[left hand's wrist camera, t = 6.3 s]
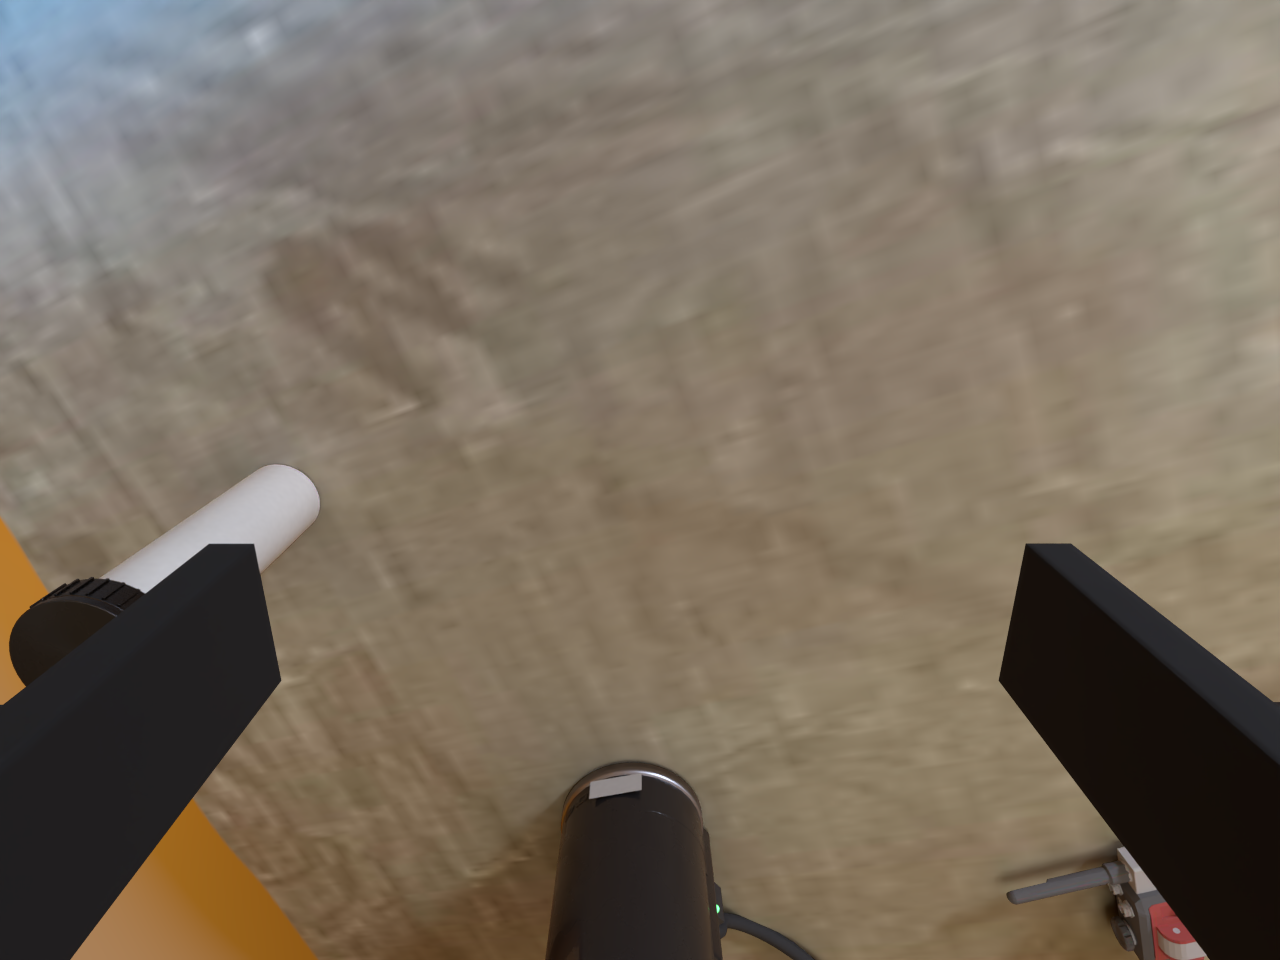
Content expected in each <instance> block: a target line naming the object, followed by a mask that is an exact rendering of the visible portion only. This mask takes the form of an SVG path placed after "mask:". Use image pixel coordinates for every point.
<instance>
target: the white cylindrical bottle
mask: <svg viewBox="0 0 1280 960" xmlns="http://www.w3.org/2000/svg"><path fill="white" fill-rule="evenodd" d="M319 509H320V499H319V495H318V492H317V490H316V488H315V486H314V484H313V483H312V482H311V480H310V479H309V478H308V477H307V476H306V475H304V474H303V473H302V472H300V471H299V470H297V469H295V468H292V467H290V466H286V465H279V464H273V465H267V466H264V467H261V468H259V469H258V470H256V471H255V472H253V473H252V474H250V475H249V476H247V477H246V478H244V479H243V480H241V481H240V482H239V483H237V484H236V485H234V486H233V487H231V488H230V489H228V490H227V491H226V492H224V493H223V494H221V495H220V496H218V497H217V498H215V499H214V500H212V501H211V502H210V503H208V504H207V505H205V506H204V507H202V508H201V509H199V510H198V511H196V512H195V513H194V514H192V515H191V516H189V517H188V518H186V519H185V520H183V521H182V522H180V523H179V524H178V525H176V526H175V527H173V528H172V529H170V530H169V531H167V532H166V533H164V534H163V535H162V536H160V537H159V538H157V539H156V540H154V541H153V542H151V543H150V544H148V545H147V546H146V547H144V548H143V549H141V550H140V551H138V552H137V553H135V554H134V555H132V556H131V557H130V558H128V559H127V560H125V561H124V562H122V563H121V564H119V565H118V566H116V567H115V568H114V569H112V570H111V571H109V572H108V573H106V574H105V575H103V576H102V577H100V578H99V579H106V578H109V579H110V580H114V581H118V582H121V583H122V582H124V583H125V584H127V585H130V586H132V587H134V588H137V589H140V591H142V592H144V593H147V592H148V591H149V590H151V589H152V588H153V587H154V586H156V585H157V584H158V583H159V582H161V581H162V580H163V579H165V578H166V577H167V576H168V575H170V574H171V573H172V572H174V571H175V570H176V569H177V568H179V567H180V566H181V565H182V564H184V563H185V562H186V561H188V560H189V559H190V558H191V557H193V556H194V555H195V554H197V553H198V552H199V551H200V550H202V549H203V548H204V547H205V546H207V545H208V544H254V545H255V550H256V555H257V561H258V566H259V571H260V574H261V573H262V572H263V571H264V570H265V569H266V568H267V567H268V566H269V565H270V564H271V563H272V562H274V561H275V560H276V559H277V558H278V557H279V556H280V555H281V554H282V553H283V552H284V551H285V550H286V549H287V548H288V547H289V546H290V545H291V544H292V543H293V542H294V541H295V540H296V539H297V538H298V537H299V536H300V535H301V534H302V533H303V532H304V531H306V530H307V529H308V528H309V527H310V526H311V525H312V524H313V522H314V521H315V520H316V518H317V516H318V513H319Z"/></svg>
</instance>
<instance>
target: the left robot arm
mask: <svg viewBox="0 0 1280 960" xmlns="http://www.w3.org/2000/svg"><path fill="white" fill-rule="evenodd" d="M280 682H281V677H280V672H279V667H278V661H277V656H276V651H275V646H274V641H273V636H272V631H271V626H270V621H269V616H268V611H267V606H266V601H265V596H264V591H263V586H262V581H261V576H260V571H259V566H258V561H257V555H256V550H255V545H254V544H208V545H207V546H205V547H204V548H203V549H202V550H200V551H199V552H198V553H197V554H195V555H194V556H193V557H191V558H190V559H189V560H188V561H186V562H185V563H184V564H182V565H181V566H180V567H179V568H177V569H176V570H175V571H174V572H172V573H171V574H170V575H168V576H167V577H166V578H165V579H163V580H162V581H161V582H159V583H158V584H157V585H156V586H154V587H153V588H152V589H151V590H149V591H148V592H147V593H145V594H144V595H143V596H142V597H140V598H139V599H138V600H136V601H135V602H134V603H133V604H131V605H130V606H129V607H128V608H126V609H125V610H124V611H122V612H121V613H120V614H119V615H117V616H116V617H115V618H113V619H112V620H111V621H110V622H108V623H107V624H106V625H105V626H103V627H102V628H101V629H99V630H98V631H97V632H96V633H94V634H93V635H92V636H90V637H89V638H88V639H87V640H85V641H84V642H83V643H82V644H80V645H79V646H78V647H76V648H75V649H74V650H73V651H71V652H70V653H69V654H67V655H66V656H65V657H64V658H62V659H61V660H60V661H59V662H57V663H56V664H55V665H53V666H52V667H51V668H50V669H48V670H47V671H46V672H44V673H43V674H42V675H41V676H39V677H38V678H37V679H36V680H34V681H33V682H32V683H30V684H29V685H28V686H27V687H25V688H24V689H23V690H21V691H20V692H19V693H18V694H16V695H15V696H14V697H13V698H11V699H10V700H9V701H8V702H6V703H5V704H4V705H0V960H70V959H71V958H72V957H73V955H74V954H75V953H76V951H77V950H78V949H79V947H80V946H81V945H82V943H83V942H84V941H85V939H86V938H87V937H88V935H89V934H90V933H91V931H92V930H93V929H94V927H95V926H96V925H97V923H98V922H99V921H100V919H101V918H102V917H103V916H104V914H105V913H106V912H107V910H108V909H109V908H110V906H111V905H112V904H113V902H114V901H115V900H116V898H117V897H118V896H119V894H120V893H121V892H122V890H123V889H124V888H125V886H126V885H127V884H128V882H129V881H130V880H131V879H132V877H133V876H134V875H135V873H136V872H137V871H138V869H139V868H140V867H141V865H142V864H143V863H144V861H145V860H146V859H147V857H148V856H149V855H150V853H151V852H152V851H153V849H154V848H155V847H156V845H157V844H158V843H159V841H160V840H161V839H162V837H163V836H164V835H165V834H166V832H167V831H168V830H169V828H170V827H171V826H172V824H173V823H174V822H175V820H176V819H177V818H178V816H179V815H180V814H181V812H182V811H183V810H184V808H185V807H186V806H187V804H188V803H189V802H190V800H191V799H192V798H193V797H194V795H195V794H196V793H197V791H198V790H199V789H200V787H201V786H202V785H203V783H204V782H205V781H206V779H207V778H208V777H209V775H210V774H211V773H212V771H213V770H214V769H215V768H216V766H217V765H218V764H219V762H220V761H221V760H222V758H223V757H224V756H225V754H226V753H227V752H228V750H229V749H230V748H231V746H232V745H233V744H234V742H235V741H236V740H237V738H238V737H239V736H240V734H241V733H242V732H243V730H244V729H245V728H246V727H247V725H248V724H249V723H250V721H251V720H252V719H253V717H254V716H255V715H256V713H257V712H258V711H259V709H260V708H261V707H262V705H263V704H264V703H265V701H266V700H267V699H268V697H269V696H270V695H271V693H272V692H273V691H274V690H275V688H276V687H277V686H278V684H279V683H280ZM999 682H1000V683H1001V684H1002V686H1003V687H1004V688H1005V690H1006V691H1007V692H1008V693H1009V695H1010V696H1011V697H1012V699H1013V700H1014V701H1015V703H1016V704H1017V705H1018V707H1019V708H1020V709H1021V711H1022V712H1023V713H1024V715H1025V716H1026V717H1027V719H1028V720H1029V721H1030V723H1031V724H1032V725H1033V727H1034V728H1035V729H1036V730H1037V732H1038V733H1039V734H1040V736H1041V737H1042V738H1043V740H1044V741H1045V742H1046V744H1047V745H1048V746H1049V748H1050V749H1051V750H1052V752H1053V753H1054V754H1055V756H1056V757H1057V758H1058V760H1059V761H1060V762H1061V764H1062V765H1063V766H1064V768H1065V769H1066V770H1067V771H1068V773H1069V774H1070V775H1071V777H1072V778H1073V779H1074V781H1075V782H1076V783H1077V785H1078V786H1079V787H1080V789H1081V790H1082V791H1083V793H1084V794H1085V795H1086V797H1087V798H1088V799H1089V801H1090V802H1091V803H1092V805H1093V806H1094V807H1095V808H1096V810H1097V811H1098V812H1099V814H1100V815H1101V816H1102V818H1103V819H1104V820H1105V822H1106V823H1107V824H1108V826H1109V827H1110V828H1111V830H1112V831H1113V832H1114V834H1115V835H1116V836H1117V838H1118V839H1119V840H1120V842H1121V843H1122V844H1123V845H1124V847H1125V848H1126V849H1127V851H1128V852H1129V853H1130V855H1131V856H1132V857H1133V859H1134V860H1135V861H1136V863H1137V864H1138V865H1139V867H1140V868H1141V869H1142V871H1143V872H1144V873H1145V875H1146V876H1147V877H1148V879H1149V880H1150V881H1151V883H1152V884H1153V885H1154V886H1155V888H1156V889H1157V890H1158V892H1159V893H1160V894H1161V896H1162V897H1163V898H1164V900H1165V901H1166V902H1167V904H1168V905H1169V906H1170V908H1171V909H1172V910H1173V912H1174V913H1175V914H1176V916H1177V917H1178V918H1179V920H1180V921H1181V922H1182V923H1183V925H1184V926H1185V927H1186V929H1187V930H1188V931H1189V933H1190V934H1191V935H1192V937H1193V938H1194V939H1195V941H1196V942H1197V943H1198V945H1199V946H1200V947H1201V949H1202V950H1203V951H1204V953H1205V954H1206V955H1207V957H1208V958H1209V959H1210V960H1280V702H1273V701H1271V700H1270V699H1269V698H1267V697H1266V696H1265V695H1264V694H1262V693H1261V692H1260V691H1259V690H1257V689H1256V688H1255V687H1253V686H1252V685H1251V684H1250V683H1248V682H1247V681H1246V680H1244V679H1243V678H1242V677H1241V676H1239V675H1238V674H1237V673H1236V672H1234V671H1233V670H1232V669H1230V668H1229V667H1228V666H1227V665H1225V664H1224V663H1223V662H1221V661H1220V660H1219V659H1218V658H1216V657H1215V656H1214V655H1213V654H1211V653H1210V652H1209V651H1207V650H1206V649H1205V648H1204V647H1202V646H1201V645H1200V644H1198V643H1197V642H1196V641H1195V640H1193V639H1192V638H1191V637H1190V636H1188V635H1187V634H1186V633H1184V632H1183V631H1182V630H1181V629H1179V628H1178V627H1177V626H1175V625H1174V624H1173V623H1172V622H1170V621H1169V620H1168V619H1167V618H1165V617H1164V616H1163V615H1161V614H1160V613H1159V612H1158V611H1156V610H1155V609H1154V608H1152V607H1151V606H1150V605H1149V604H1147V603H1146V602H1145V601H1144V600H1142V599H1141V598H1140V597H1138V596H1137V595H1136V594H1135V593H1133V592H1132V591H1131V590H1129V589H1128V588H1127V587H1126V586H1124V585H1123V584H1122V583H1121V582H1119V581H1118V580H1117V579H1115V578H1114V577H1113V576H1112V575H1110V574H1109V573H1108V572H1106V571H1105V570H1104V569H1103V568H1101V567H1100V566H1099V565H1098V564H1096V563H1095V562H1094V561H1092V560H1091V559H1090V558H1089V557H1087V556H1086V555H1085V554H1083V553H1082V552H1081V551H1080V550H1078V549H1077V548H1076V547H1075V546H1073V545H1072V544H1026V545H1025V550H1024V555H1023V561H1022V566H1021V571H1020V576H1019V581H1018V586H1017V591H1016V596H1015V601H1014V606H1013V611H1012V616H1011V621H1010V626H1009V631H1008V636H1007V641H1006V646H1005V651H1004V656H1003V661H1002V667H1001V672H1000V677H999Z"/></svg>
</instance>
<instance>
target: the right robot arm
mask: <svg viewBox="0 0 1280 960" xmlns="http://www.w3.org/2000/svg"><path fill="white" fill-rule="evenodd" d="M727 928H731V929H736V930H739V931H742V932H745V933H748V934H750V935H752V936H755V937H757V938H759V939H761V940H763V941H765V942H767V943H768V944H770V945H772V946H774V947H775V948H777V949H778V950H780V951H782V952H783V953H785V954H786V955H787V956H789V957H790V958H792V959H793V960H815V959H813V958H812V957H811V956H810V955H809V954H808V953H806V952H805V951H804V950H803V949H801V948H800V947H799V946H797V945H796V944H795V943H793V942H792V941H790V940H789V939H787V938H786V937H784V936H783V935H781V934H779V933H778V932H775V931H773V930H771V929H769V928H767V927H764V926H762V925H760V924H757V923H755V922H753V921H750V920H748V919H746V918H744V917H741V916H739V915H735V914H730V913H723V905H722V896H721V888H720V887H719V886H718V885H717V884H716V883H715V882H714V877H713V867H712V858H711V849H710V840H709V833H708V832H707V831H706V830H705V829H704V828H703V821H702V812H701V806H700V803H699V801H698V798H697V796H696V795H695V793H694V791H693V790H692V789H691V787H690V786H689V785H688V784H687V783H686V782H685V781H684V780H682V779H681V778H680V777H678V776H677V775H676V774H674V773H672V772H670V771H668V770H666V769H664V768H661V767H658V766H654V765H650V764H645V763H619V764H614V765H609V766H606V767H603V768H600V769H598V770H596V771H594V772H592V773H590V774H588V775H587V776H585V777H584V778H583V779H581V780H580V781H579V782H578V783H577V784H576V785H575V786H574V787H573V789H572V790H571V791H570V793H569V795H568V796H567V798H566V801H565V804H564V807H563V814H562V821H561V842H560V850H559V856H558V863H557V871H556V879H555V887H554V895H553V903H552V911H551V919H550V927H549V935H548V943H547V951H546V959H545V960H722V950H721V940H720V939H721V938H723V937H724V936H725V935H726V932H727Z"/></svg>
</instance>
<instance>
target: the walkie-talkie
mask: <svg viewBox="0 0 1280 960" xmlns="http://www.w3.org/2000/svg"><path fill="white" fill-rule="evenodd" d="M1117 856H1118V861H1113V862H1109V863H1105V864H1102V867H1098V868H1094V869H1089V870H1085V871H1081V872H1077V873H1072V874H1068V875H1064V876H1059V877H1055V878H1051V879H1047V882H1046V883H1042V884H1038V885H1034V886H1030V887H1025V888H1021V889H1017V890H1013V891H1010V892H1008V893H1007V898H1008V900H1009V901H1010V902H1011V903H1013V904H1021V903H1026V902H1030V901H1034V900H1039V899H1043V898H1048V897H1052V896H1056V895H1061V894H1065V893H1070V892H1074V891H1078V890H1083V889H1087V888H1091V887H1096V886H1100V885H1105V884H1108V887H1109V889H1110V891H1113V892H1112V893H1113V895H1116V898H1117V906H1118V913H1119V917H1118V916H1116V917H1112V918H1111V926H1112V929H1113V931H1114V934H1115V936H1116V938H1117V940H1118V941H1119V943H1120V945H1121V946H1122V947H1123V948H1124V949H1125V950H1126V951H1133V950H1134V952H1135V953H1136V955H1137V956H1138V958H1139V959H1140V960H1204V956H1207V955H1206V954H1205V953H1204V951H1203V950H1202V949H1201V947H1200V946H1199V945H1198V943H1197V942H1196V941H1195V939H1194V938H1193V937H1192V935H1191V934H1190V933H1189V931H1188V930H1187V929H1186V927H1185V926H1184V925H1183V923H1182V922H1181V921H1180V920H1179V918H1178V917H1177V916H1176V914H1175V913H1174V912H1173V910H1172V909H1171V908H1170V906H1169V905H1168V904H1167V902H1166V901H1165V900H1164V898H1163V897H1162V896H1161V894H1160V893H1159V892H1158V890H1157V889H1156V888H1155V886H1154V885H1153V884H1152V883H1151V881H1150V880H1149V879H1148V877H1147V876H1146V875H1145V873H1144V872H1143V871H1142V869H1141V868H1140V867H1139V865H1138V864H1137V863H1136V861H1135V860H1134V859H1133V857H1132V856H1131V855H1130V853H1129V852H1128V851H1127V849H1126V848H1125V847H1121V848H1117Z"/></svg>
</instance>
